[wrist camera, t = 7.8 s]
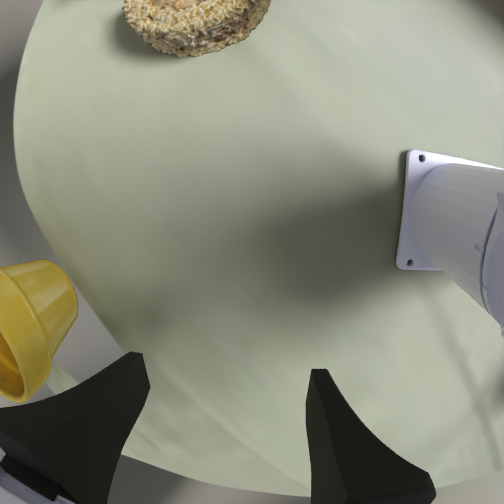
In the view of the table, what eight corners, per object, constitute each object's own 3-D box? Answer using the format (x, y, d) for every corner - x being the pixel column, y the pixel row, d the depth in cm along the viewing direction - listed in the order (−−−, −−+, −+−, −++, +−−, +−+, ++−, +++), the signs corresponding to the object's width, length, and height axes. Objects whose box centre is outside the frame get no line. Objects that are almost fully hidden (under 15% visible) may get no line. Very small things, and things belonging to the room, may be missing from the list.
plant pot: (4, 266, 23) (-63, 305, 14) (53, 216, 20) (-38, 253, 11) (55, 351, 25) (2, 407, 16) (116, 323, 23) (52, 399, 14)
